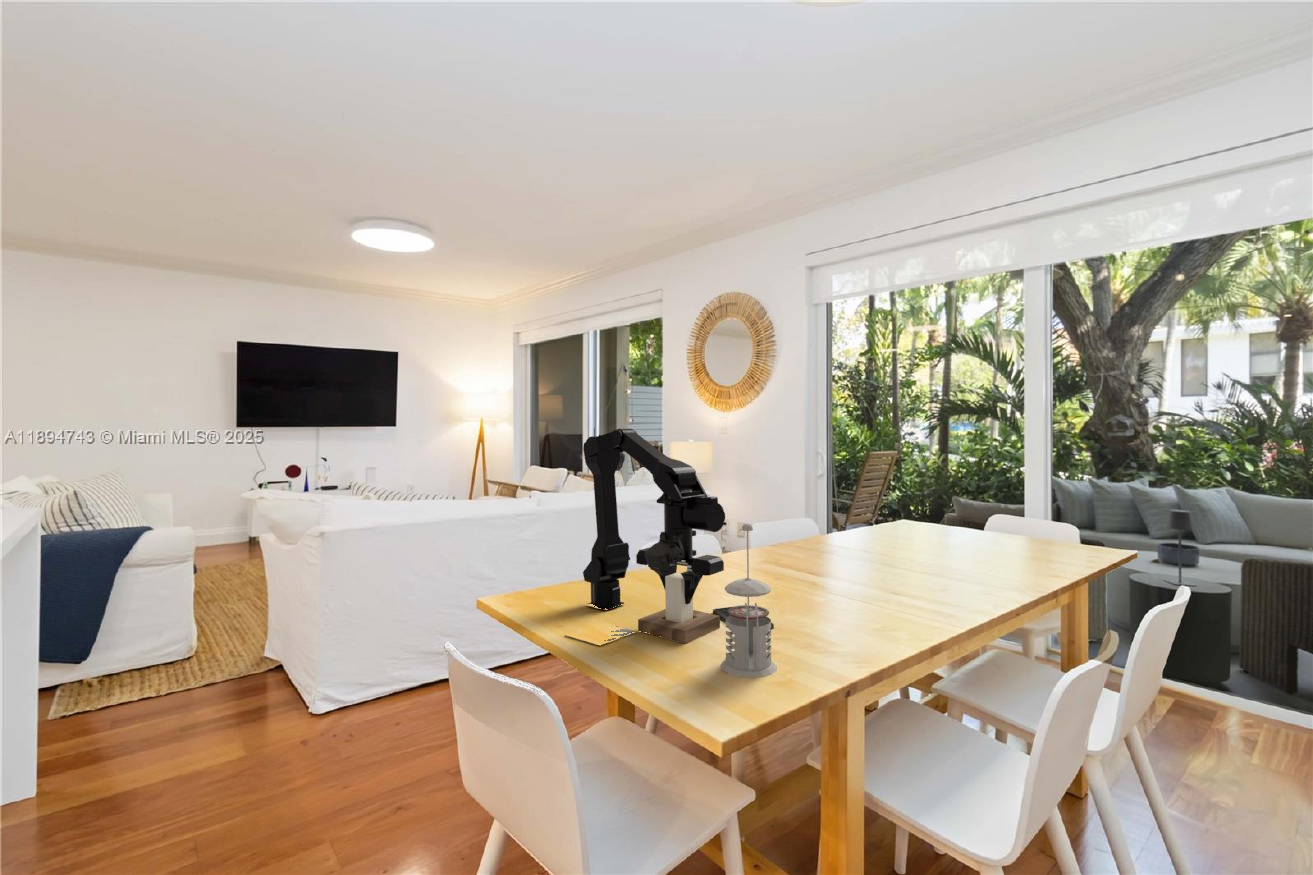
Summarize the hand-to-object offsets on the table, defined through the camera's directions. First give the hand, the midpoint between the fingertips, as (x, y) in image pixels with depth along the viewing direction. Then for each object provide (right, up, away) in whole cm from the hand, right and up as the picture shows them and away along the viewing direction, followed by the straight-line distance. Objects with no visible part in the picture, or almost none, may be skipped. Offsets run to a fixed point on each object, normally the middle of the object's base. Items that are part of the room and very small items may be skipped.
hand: (679, 602), depth 130 cm
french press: (+11, -6, -21) cm, 24 cm away
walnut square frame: (0, -6, 0) cm, 6 cm away
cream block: (0, -4, 0) cm, 4 cm away
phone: (+14, -6, +6) cm, 16 cm away
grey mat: (-16, -6, -2) cm, 17 cm away
